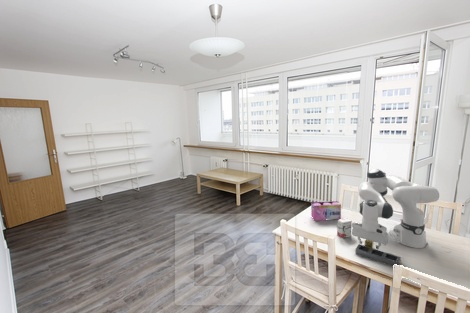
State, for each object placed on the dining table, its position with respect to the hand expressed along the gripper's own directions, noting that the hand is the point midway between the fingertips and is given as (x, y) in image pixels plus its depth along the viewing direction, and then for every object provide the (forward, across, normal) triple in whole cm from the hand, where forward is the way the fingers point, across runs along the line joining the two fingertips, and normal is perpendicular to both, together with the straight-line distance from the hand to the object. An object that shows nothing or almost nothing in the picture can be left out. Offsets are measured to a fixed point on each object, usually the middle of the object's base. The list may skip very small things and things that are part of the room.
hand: (368, 245), depth 143 cm
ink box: (+3, -18, +9) cm, 20 cm away
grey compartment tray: (+2, +6, -7) cm, 10 cm away
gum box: (+3, -39, +29) cm, 49 cm away
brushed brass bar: (+2, 0, 0) cm, 3 cm away
